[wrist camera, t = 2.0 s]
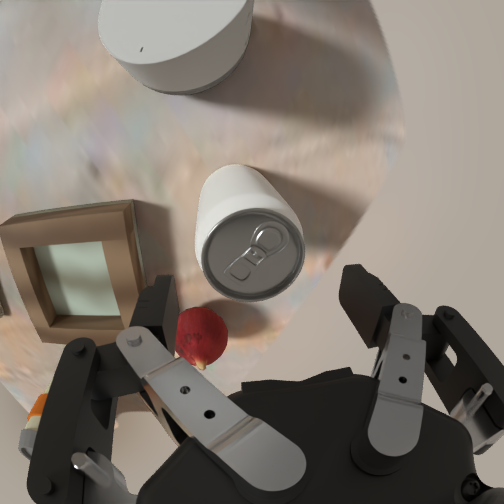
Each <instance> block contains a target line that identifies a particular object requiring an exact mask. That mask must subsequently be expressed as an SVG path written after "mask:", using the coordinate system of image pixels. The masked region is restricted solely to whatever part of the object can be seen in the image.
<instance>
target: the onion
mask: <svg viewBox="0 0 504 504" xmlns="http://www.w3.org/2000/svg"><path fill="white" fill-rule="evenodd" d="M227 341H228V330H227V328H226V325H225V323H224V321H223V319H222V318H221V317H220V316H219V315H217V314H216V313H215V312H214V311H212V310H210V309H207V308H205V307H193V308H189V309H186V310H185V311H183V312H182V313H181V314H179V317H178V326H177V335H176V344H175V351H176V352H177V353H178V355H179V356H180V357H183V358H185V359H186V360H187V361H188V362H189V363H190V364H191V365H195V366H197V367H198V368H199V369H200V370H205V369H206V365H209V364H211V363H213V362H214V361H216V360H217V359H218V358H219V357H220V356H221V355H222V353H223V352H224V350H225V348H226V346H227Z"/></svg>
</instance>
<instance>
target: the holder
mask: <svg viewBox="0 0 504 504" xmlns="http://www.w3.org/2000/svg"><path fill="white" fill-rule="evenodd" d="M0 237H1V240H2V244H3V247H4V251H5V254H6V257H7V260H8V263H9V266H10V269H11V272H12V275H13V277H14V280H15V283H16V285H17V288H18V290H19V293H20V295H21V298H22V300H23V303H24V305H25V307H26V310H27V312H28V314H29V316H30V318H31V320H32V323H33V325H34V327H35V329H36V331H37V333H38V335H39V337H40V339H41V341H42V342H45V343H56V344H68V343H69V342H70V341H72V340H74V339H77V338H81V337H86V338H90V339H92V340H93V341H94V342H95V344H96V346H101V345H105V344H110V343H113V342H116V338H117V336H118V335H119V333H120V332H121V331H123V330H125V329H127V328H129V324H130V321H131V318H132V315H133V312H134V309H135V306H136V303H137V300H138V297H139V294H140V293H141V292H142V291H143V290H144V289H145V288H146V287H147V282H146V277H145V272H144V266H143V261H142V255H141V250H140V244H139V237H138V231H137V224H136V217H135V210H134V202H133V199H131V200H121V201H111V202H102V203H93V204H85V205H77V206H69V207H62V208H55V209H48V210H41V211H35V212H29V213H23V214H17V215H14V216H13V217H11V218H10V219H8V220H7V221H5V222H4V223H3V224H1V225H0Z"/></svg>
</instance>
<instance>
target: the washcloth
mask: <svg viewBox="0 0 504 504" xmlns="http://www.w3.org/2000/svg"><path fill="white" fill-rule="evenodd" d="M3 314H5V313H4V309H3V307H2V305H1V301H0V318H1V317H2V316H3Z"/></svg>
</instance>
